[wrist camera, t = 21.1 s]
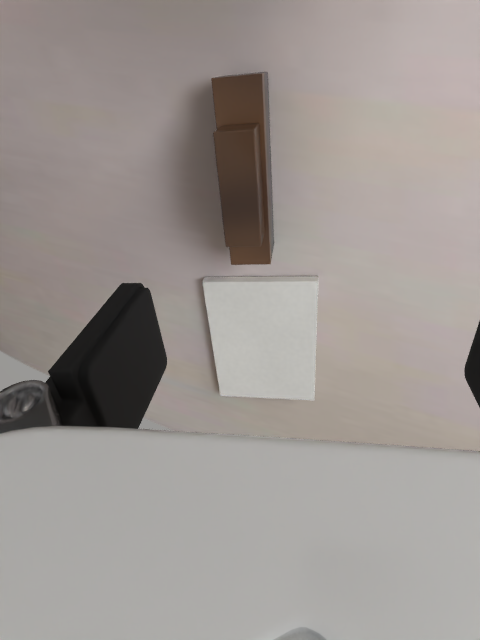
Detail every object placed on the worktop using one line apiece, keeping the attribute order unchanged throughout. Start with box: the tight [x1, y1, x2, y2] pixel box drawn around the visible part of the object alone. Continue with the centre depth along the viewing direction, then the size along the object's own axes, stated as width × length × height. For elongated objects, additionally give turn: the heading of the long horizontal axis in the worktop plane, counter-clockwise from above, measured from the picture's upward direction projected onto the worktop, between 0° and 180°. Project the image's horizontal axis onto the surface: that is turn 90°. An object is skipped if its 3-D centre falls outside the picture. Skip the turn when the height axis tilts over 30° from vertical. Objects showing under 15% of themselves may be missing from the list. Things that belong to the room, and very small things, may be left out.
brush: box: [211, 72, 274, 265], centre depth 26 cm, size 12×3×6 cm, turn 5°
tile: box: [202, 276, 318, 400], centre depth 37 cm, size 14×10×1 cm
